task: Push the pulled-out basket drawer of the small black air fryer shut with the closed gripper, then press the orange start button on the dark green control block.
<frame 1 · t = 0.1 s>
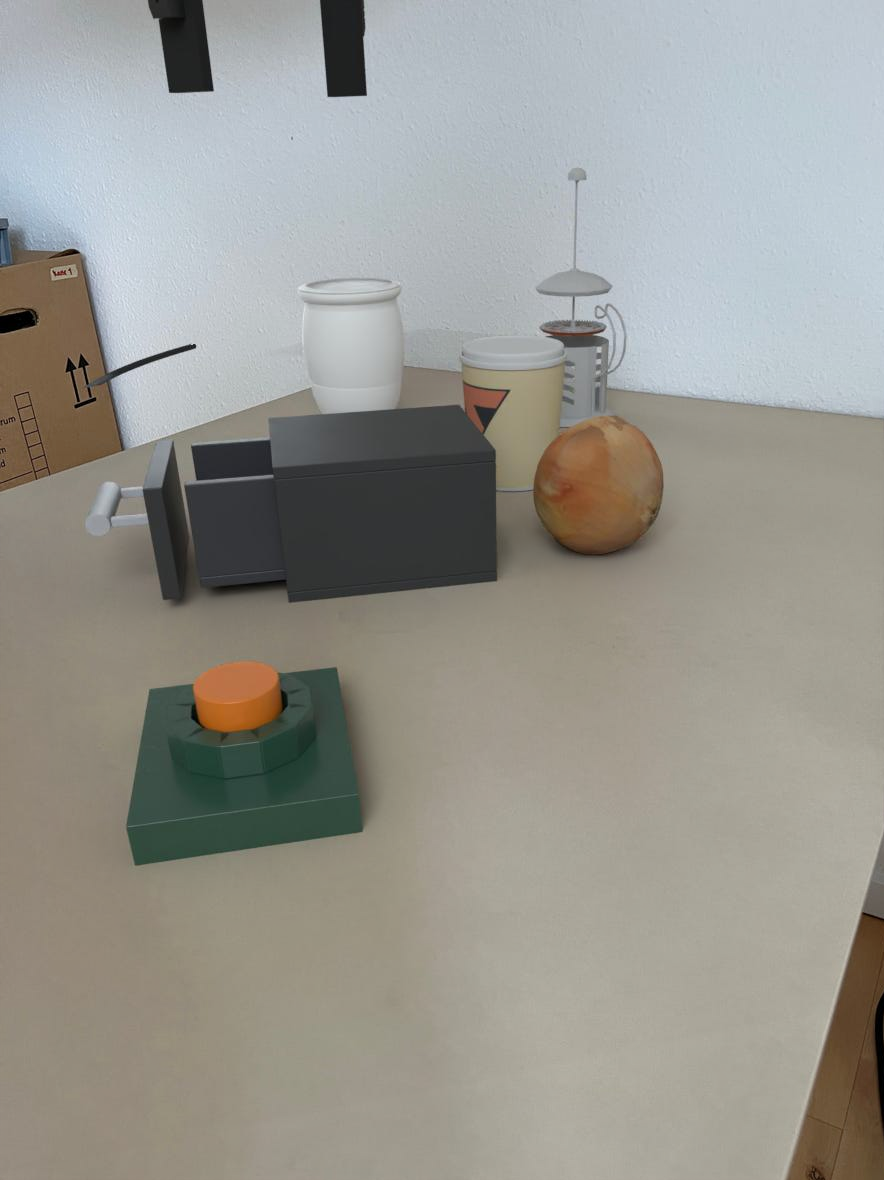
hand: (276, 95, 59), 30 cm above the table, tool pointing down, fingers open, 13 cm apart
start button: (238, 696, 47), point 4 cm above the table, slide at 0.1 cm
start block: (250, 773, 49), on the table
coffee cup: (513, 480, 90), on the table
french press: (576, 418, 108), on the table
onion: (595, 550, 74), on the table
air fryer: (383, 558, 73), on the table
basket: (226, 510, 69), point 5 cm above the table, slide at 7.0 cm
jar: (360, 432, 105), on the table
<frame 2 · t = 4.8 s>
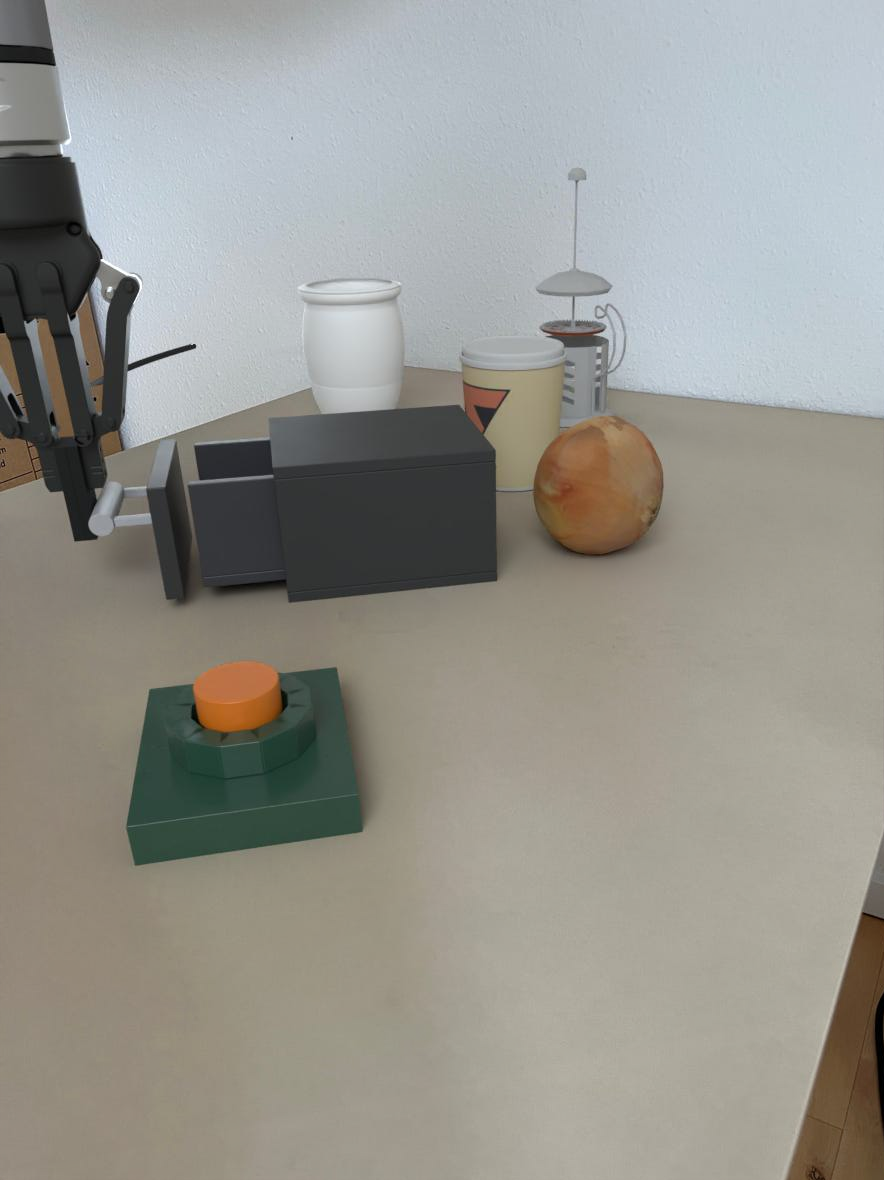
hand: (88, 533, 67), 4 cm above the table, tool pointing down, fingers closed
basket: (229, 510, 69), point 5 cm above the table, slide at 6.8 cm, touching gripper
everything else where it was.
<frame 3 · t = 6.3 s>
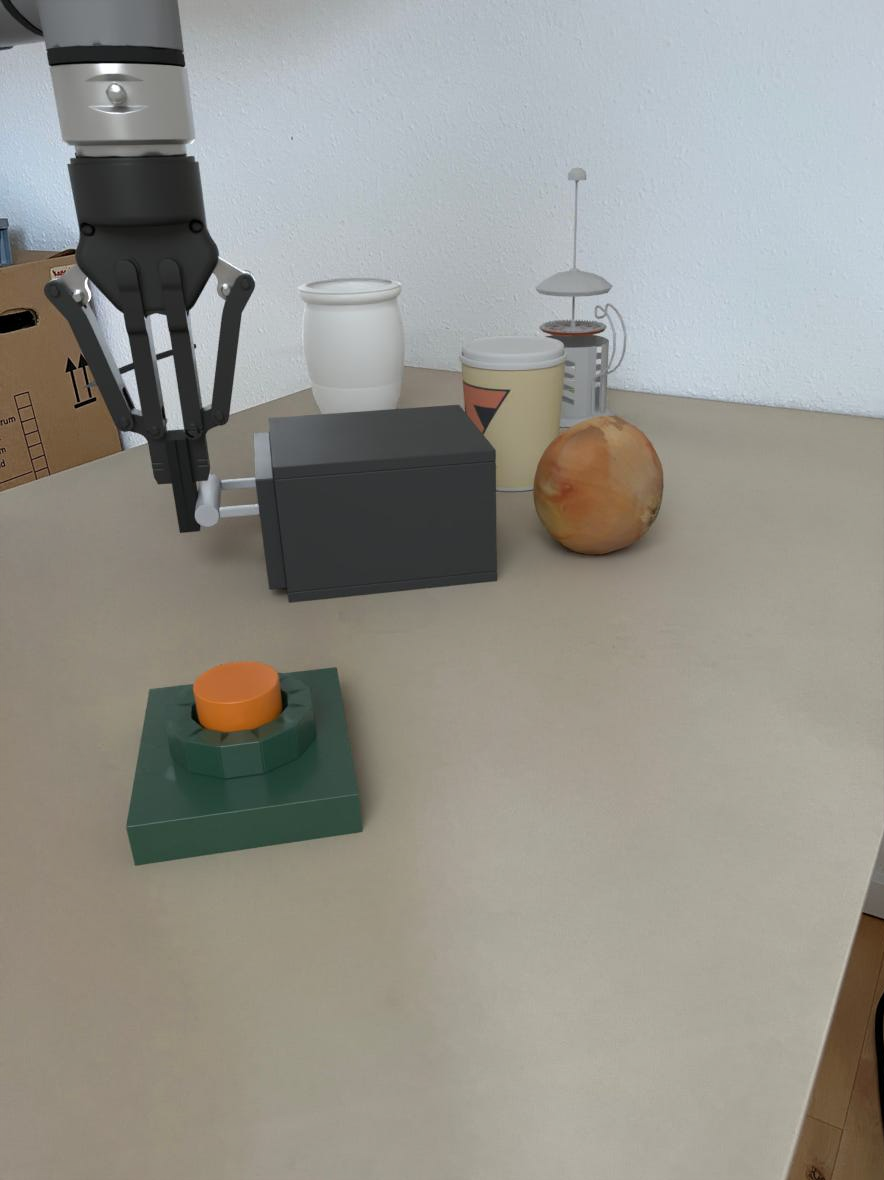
hand: (191, 525, 69), 4 cm above the table, tool pointing down, fingers closed
basket: (325, 502, 70), point 5 cm above the table, slide at 0.0 cm, touching air fryer, gripper
everything else where it was.
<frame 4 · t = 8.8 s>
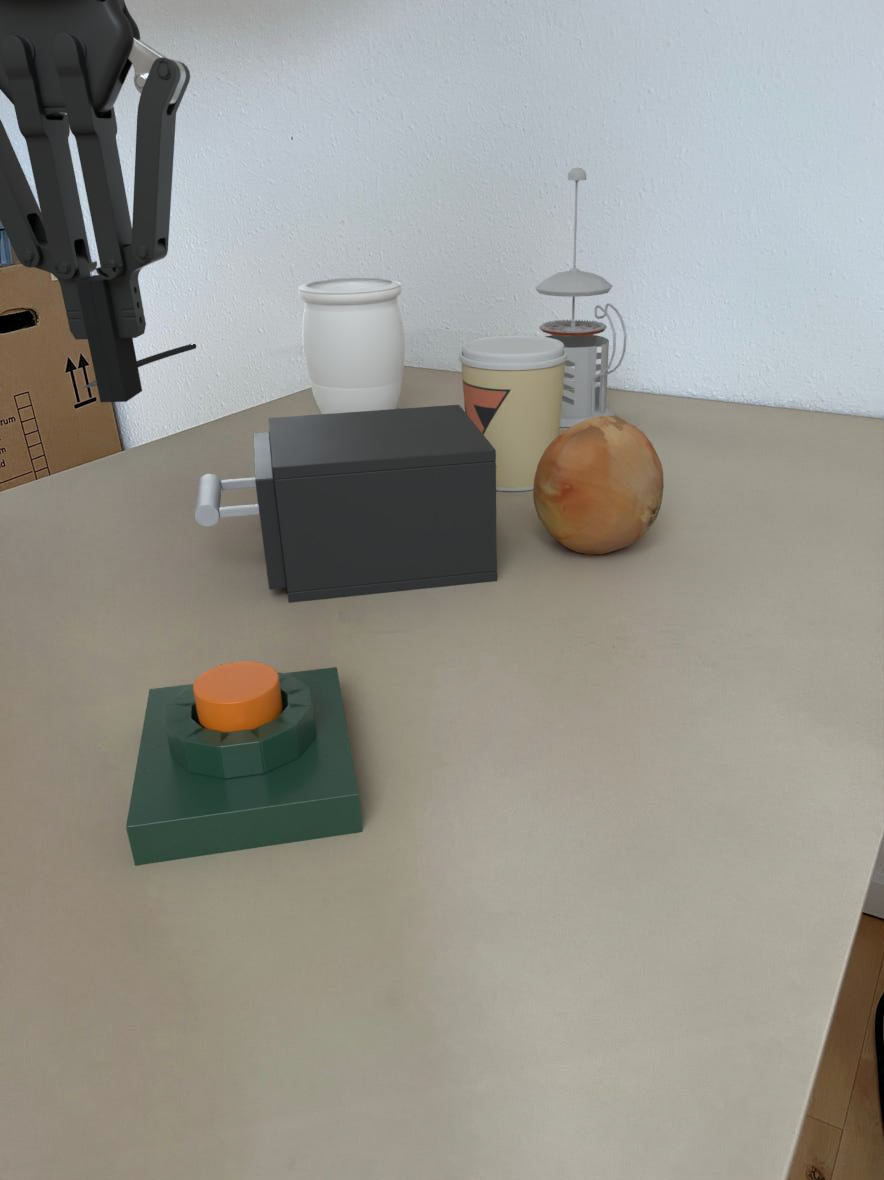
hand: (121, 396, 56), 15 cm above the table, tool pointing down, fingers closed
basket: (325, 502, 70), point 5 cm above the table, slide at 0.0 cm, touching air fryer
everything else where it was.
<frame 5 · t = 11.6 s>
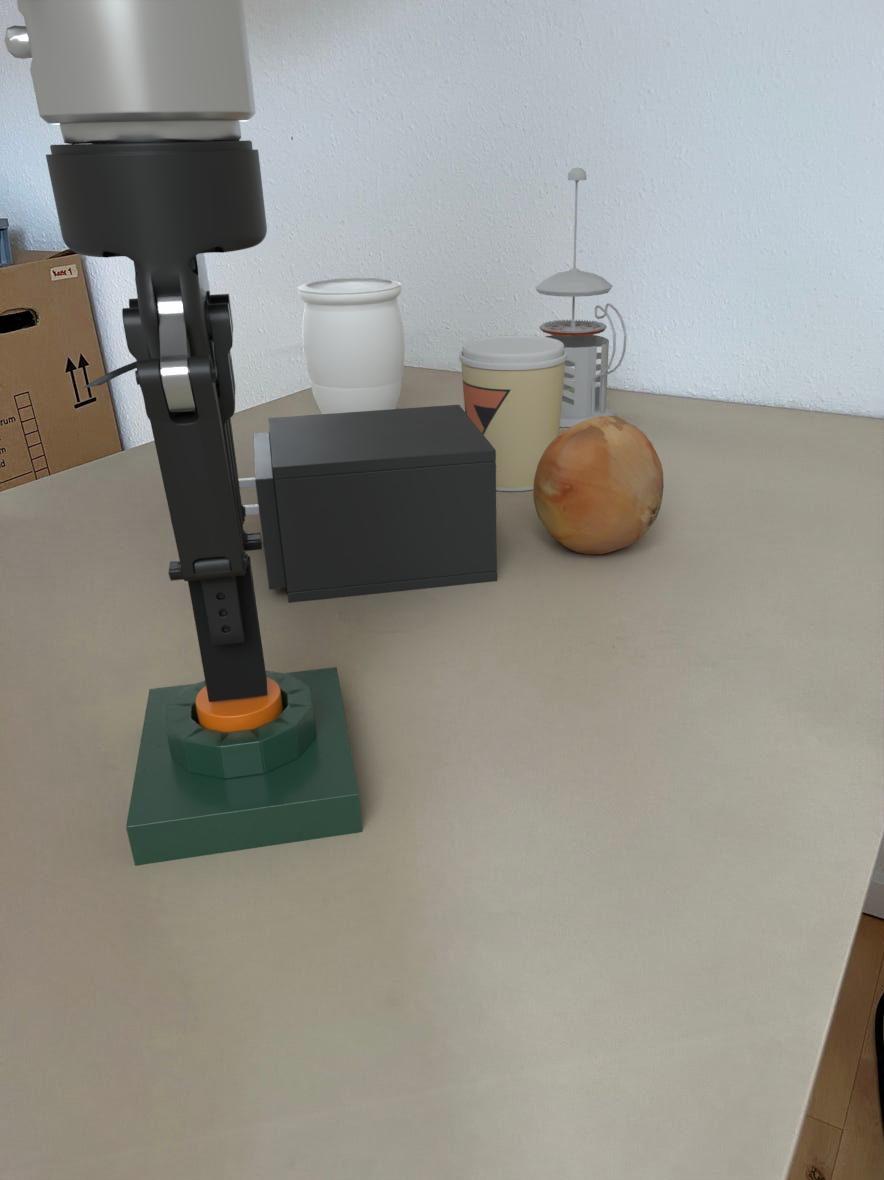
hand: (238, 690, 46), 5 cm above the table, tool pointing down, fingers closed
start button: (240, 709, 47), point 4 cm above the table, slide at -0.6 cm, touching gripper
everything else where it was.
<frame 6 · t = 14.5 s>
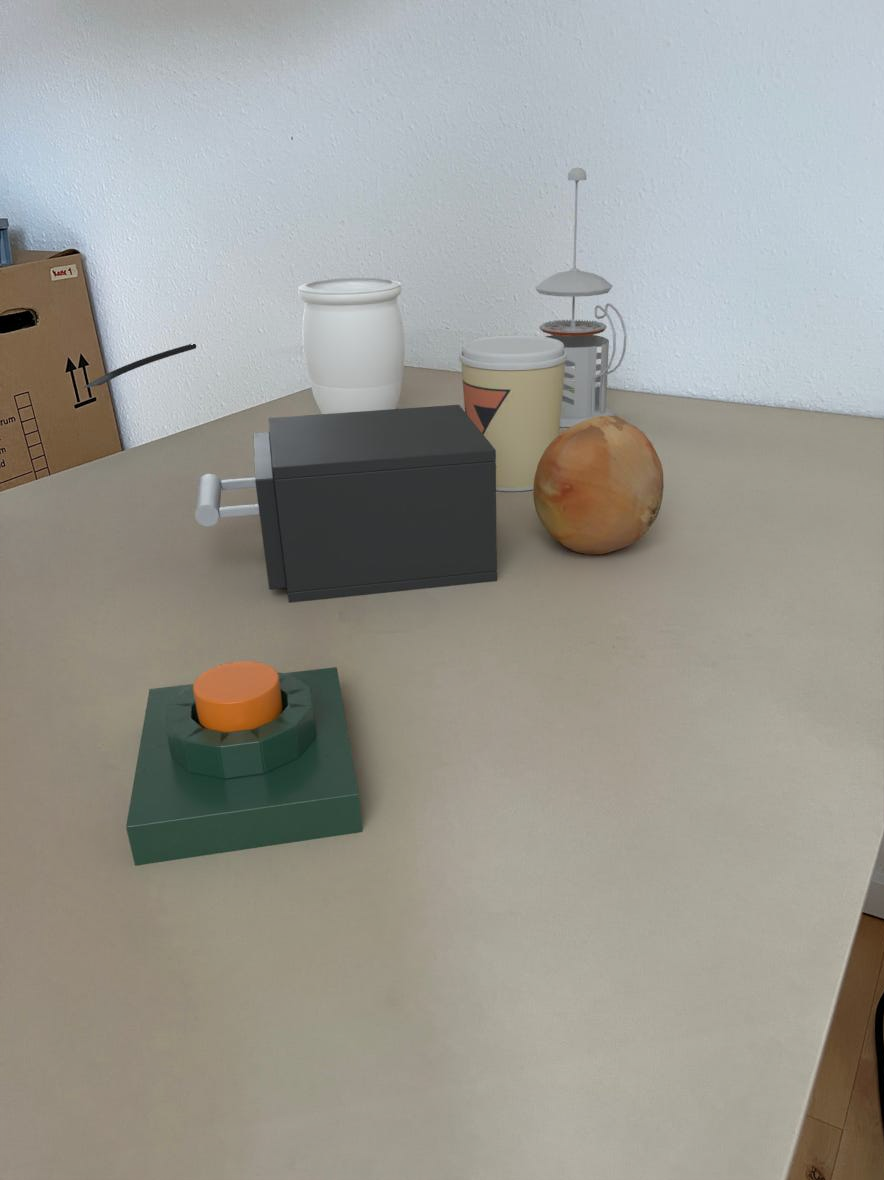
start button: (238, 696, 47), point 4 cm above the table, slide at 0.1 cm
everything else where it was.
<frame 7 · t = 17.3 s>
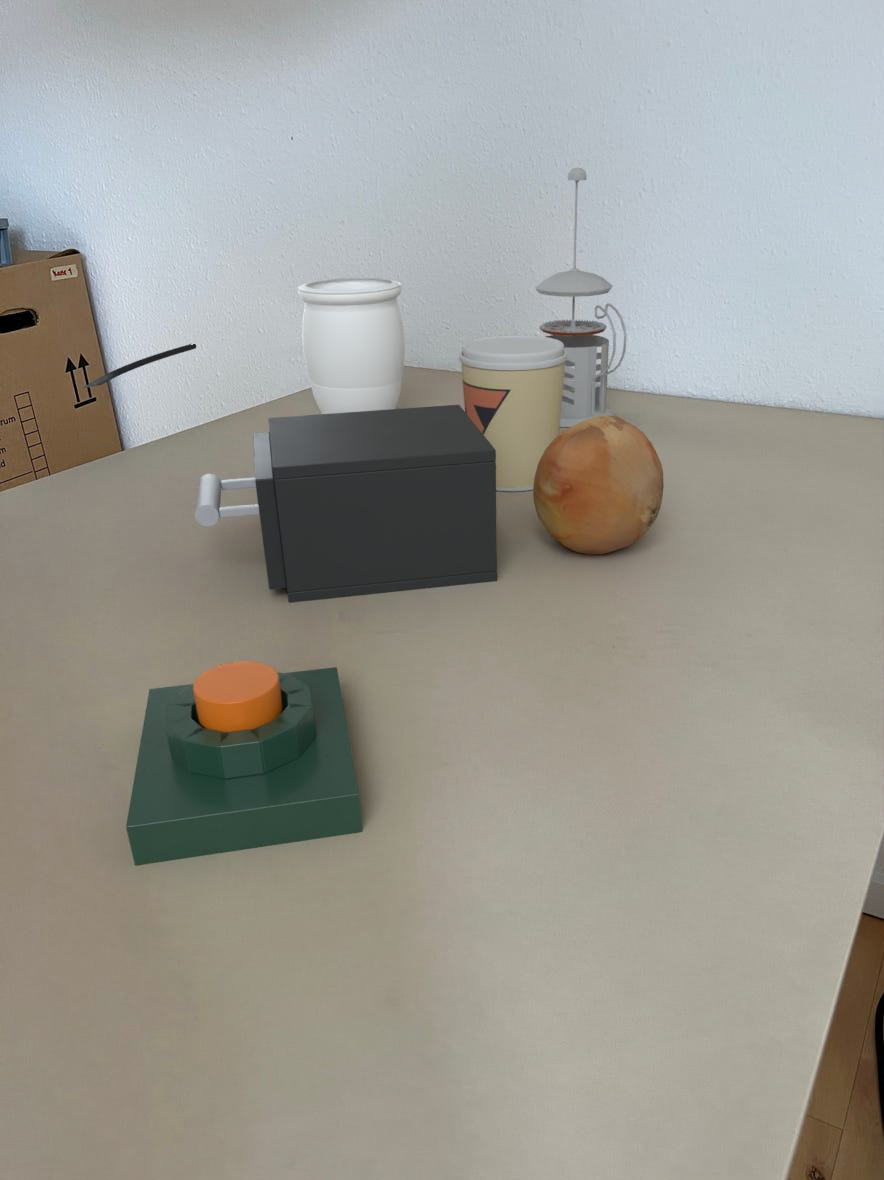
nothing on the table moved.
at the end: basket slide at 0.0 cm; start button pushed in 1.0 cm at the most during the clip, back to where it started at the end; start button slide at 0.1 cm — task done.
